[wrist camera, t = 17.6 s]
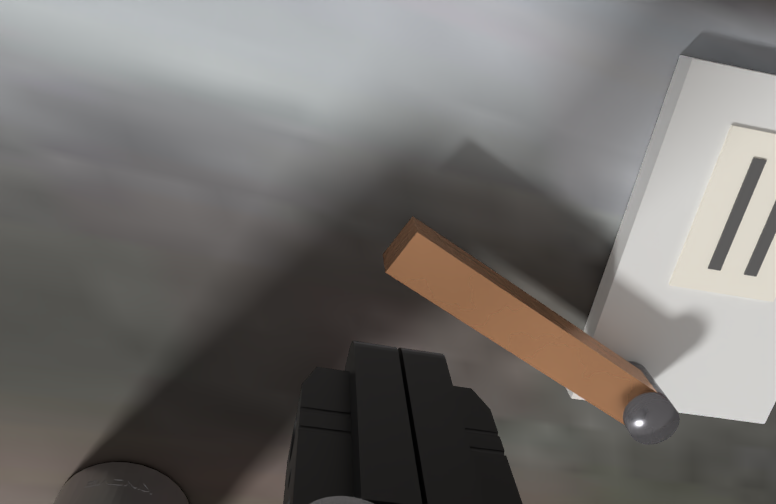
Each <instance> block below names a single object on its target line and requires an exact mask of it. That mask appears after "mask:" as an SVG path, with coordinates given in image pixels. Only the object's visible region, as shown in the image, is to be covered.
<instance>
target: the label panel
mask: <svg viewBox="0 0 776 504" xmlns="http://www.w3.org/2000/svg"><path fill="white" fill-rule="evenodd" d="M583 332H585V333H586V334H588V335H589V336H591V337H592V338H594V339H595V340H597V341H598V342H600V343H601V344H603V345H604V346H606V347H607V348H609V349H610V350H612V351H613V352H615V353H616V354H617V355H619V356H620V357H622V358H623V359H625V360H626V361H633V362H637V363H640V364H641V365H643V366H644V367H645V368H646V370H647V371H648V372H649V374H650V375H651V376H652V378H653V379H654V380H655V382H656V383H657V384H658V386H659V387H660V388H661V390H662V391H663V392H664V394H665V395H666V396H667V398H668V399H669V400H670V402H671V403H672V404H673V406H674V407H675V408H676V410H677V411H678V412H679V413H686V414H694V415H701V416H709V417H716V418H724V419H731V420H739V421H747V422H754V423H762V424H765V422H766V420H767V418H768V416H769V414H770V412H771V410H772V408H773V406H774V404H775V402H776V75H774V74H769V73H765V72H760V71H755V70H750V69H746V68H741V67H736V66H731V65H727V64H722V63H717V62H712V61H708V60H703V59H698V58H693V57H689V56H684V55H680V56H679V59H678V62H677V65H676V68H675V71H674V73H673V76H672V79H671V82H670V85H669V88H668V91H667V93H666V96H665V99H664V102H663V105H662V108H661V111H660V113H659V116H658V119H657V122H656V125H655V128H654V131H653V133H652V136H651V139H650V142H649V145H648V148H647V151H646V153H645V156H644V159H643V162H642V165H641V168H640V171H639V173H638V176H637V179H636V182H635V185H634V188H633V191H632V193H631V196H630V199H629V202H628V205H627V208H626V211H625V213H624V216H623V219H622V222H621V225H620V228H619V231H618V234H617V236H616V239H615V242H614V245H613V248H612V251H611V254H610V256H609V259H608V262H607V265H606V268H605V271H604V274H603V276H602V279H601V282H600V285H599V288H598V291H597V294H596V296H595V299H594V302H593V305H592V308H591V311H590V314H589V316H588V319H587V322H586V325H585V328H584V331H583ZM566 389H567V388H566ZM567 391H568V393H569V395H570V397H571V398H573V399H581V400H585V399H583V398H582V397H580V396H578V395H577V394H575V393H574V392H572V391H571V390H569V389H567Z"/></svg>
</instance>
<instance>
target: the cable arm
mask: <svg viewBox="0 0 776 504" xmlns="http://www.w3.org/2000/svg"><path fill="white" fill-rule="evenodd" d="M383 259H384V266H385V273H387V274H389V275H390V276H392V277H393V278H395V279H396V280H398V281H400V282H401V283H403V284H404V285H406V286H407V287H409V288H411V289H412V290H414V291H415V292H417V293H418V294H420V295H422V296H423V297H425V298H426V299H428V300H429V301H431V302H433V303H434V304H436V305H437V306H439V307H440V308H442V309H443V310H445V311H447V312H448V313H450V314H451V315H453V316H454V317H456V318H458V319H459V320H461V321H462V322H464V323H465V324H467V325H469V326H470V327H472V328H473V329H475V330H476V331H478V332H480V333H481V334H483V335H484V336H486V337H487V338H489V339H491V340H492V341H494V342H495V343H497V344H498V345H500V346H502V347H503V348H505V349H506V350H508V351H509V352H511V353H513V354H514V355H516V356H517V357H519V358H520V359H522V360H523V361H525V362H527V363H528V364H530V365H531V366H533V367H534V368H536V369H538V370H539V371H541V372H542V373H544V374H545V375H547V376H549V377H550V378H552V379H553V380H555V381H556V382H558V383H560V384H561V385H563V386H564V387H566V388H567V389H569V390H571V391H572V392H574V393H575V394H577V395H578V396H580V397H582V398H583V399H585V400H586V401H588V402H589V403H591V404H592V405H594V406H596V407H597V408H599V409H600V410H602V411H603V412H605V413H607V414H608V415H610V416H611V417H613V418H614V419H616V420H618V421H619V422H621V423H622V424H624V425H625V426H626V428H627V429H628V431H629V433H630V434H631V436H632V437H633V438H634V439H635V440H636V441H638V442H640V443H643V444H656V443H659V442H662V441H664V440H666V439H668V438H669V437H670V436H671V435H672V434H673V433H674V432H675V431H676V429H677V427H678V425H679V414H678V411H677V410H676V408H675V407H674V406H673V404H672V403H671V402H670V400H669V399H668V398H667V396H666V395H665V394H664V392H663V391H662V390H661V388H660V387H659V386H658V384H657V383H656V382H655V380H654V379H653V378H652V376H651V375H650V374H649V372H648V371H647V370H646V368H645V367H644V366H643V365H641V364H640V363H637V362H633V361H626V360H625V359H623V358H622V357H620V356H619V355H617V354H616V353H615V352H613V351H612V350H610V349H609V348H607V347H606V346H604V345H603V344H601V343H600V342H598V341H597V340H595V339H594V338H592V337H591V336H589V335H588V334H586V333H585V332H583V331H582V330H580V329H579V328H578V327H576V326H575V325H573V324H572V323H570V322H569V321H567V320H566V319H564V318H563V317H561V316H560V315H558V314H557V313H555V312H554V311H552V310H551V309H549V308H548V307H546V306H545V305H543V304H542V303H541V302H539V301H538V300H536V299H535V298H533V297H532V296H530V295H529V294H527V293H526V292H524V291H523V290H521V289H520V288H518V287H517V286H515V285H514V284H512V283H511V282H509V281H508V280H506V279H505V278H504V277H502V276H501V275H499V274H498V273H496V272H495V271H493V270H492V269H490V268H489V267H487V266H486V265H484V264H483V263H481V262H480V261H478V260H477V259H475V258H474V257H472V256H471V255H469V254H468V253H467V252H465V251H464V250H462V249H461V248H459V247H458V246H456V245H455V244H453V243H452V242H450V241H449V240H447V239H446V238H444V237H443V236H441V235H440V234H438V233H437V232H435V231H434V230H432V229H431V228H430V227H428V226H427V225H425V224H424V223H422V222H421V221H419V220H418V219H416V218H415V217H413V216H412V218H411V219H410V220H409V221H408V223H407V224H406V225H405V227H404V228H403V229H402V230H401V232H400V233H399V234H398V236H397V237H396V238H395V239H394V241H393V242H392V243H391V245H390V246H389V247H388V248H387V250H386V251H385V252H384V254H383Z"/></svg>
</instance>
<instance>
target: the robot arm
mask: <svg viewBox="0 0 776 504" xmlns="http://www.w3.org/2000/svg"><path fill="white" fill-rule="evenodd" d="M53 504H189V502H188V500H187V498H186V496H185V494H184V493H183V492H182V490H181V489H180V488H179V486H178V485H177V484H175V483H174V482H173V481H172V480H171V479H170V478H168V477H167V476H165V475H163V474H162V473H160V472H158V471H156V470H154V469H151V468H148V467H146V466H143V465H138V464H133V463H128V462H110V463H103V464H97V465H94V466H91V467H88V468H85V469H84V470H82V471H80V472H78V473H77V474H75V475H73V476H72V477H71V478H70V479H69V480H68V481H67V482H66V483H65V484H64V486H63V487H62V489H61V490H60V492H59V494H58V496H57V498H56V499H55V501H54V503H53ZM283 504H522V501H521V498H520V495H519V492H518V489H517V486H516V483H515V481H514V478H513V475H512V472H511V469H510V466H509V463H508V460H507V457H506V456H504V448H503V445H502V442H501V440H500V437H499V436H498V431H497V428H496V425H495V422H494V419H493V416H492V413H491V410H490V409H489V408H488V406H487V405H486V404H485V403H484V402H483V401H482V400H481V399H480V398H479V396H478V395H477V394H476V393H475V392H474V391H473V390H472V389H471V388H464V387H457V386H453V384H452V381H451V377H450V374H449V370H448V366H447V363H446V359H445V356H444V355H443V354H440V353H433V352H426V351H419V350H412V349H405V348H399V349H397V348H396V347H391V346H384V345H377V344H370V343H363V342H357V341H352V343H351V346H350V349H349V353H348V357H347V362H346V366H345V371H341V370H334V369H327V368H320V367H316V369H315V370H314V371H313V372H312V373H311V374H310V376H309V377H308V378H307V379H306V380H305V381H304V382H303V384H302V387H301V392H300V398H299V403H298V408H297V413H296V419H295V424H294V429H293V434H292V440H291V445H290V450H289V455H288V461H287V470H286V480H285V491H284V501H283Z"/></svg>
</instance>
